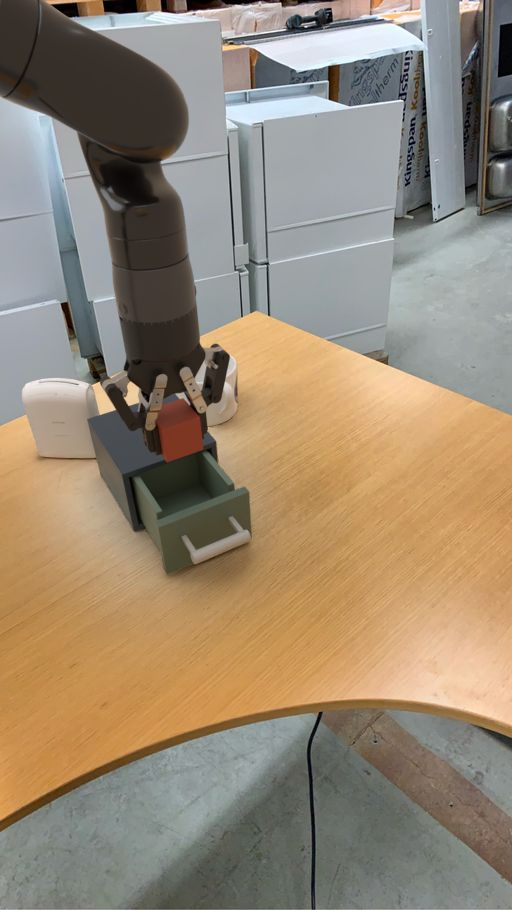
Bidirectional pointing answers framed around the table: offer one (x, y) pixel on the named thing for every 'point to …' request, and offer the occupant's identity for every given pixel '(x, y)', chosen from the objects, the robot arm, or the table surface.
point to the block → (179, 430)
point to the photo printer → (61, 416)
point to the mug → (229, 399)
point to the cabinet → (128, 456)
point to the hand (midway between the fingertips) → (176, 443)
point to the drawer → (191, 510)
